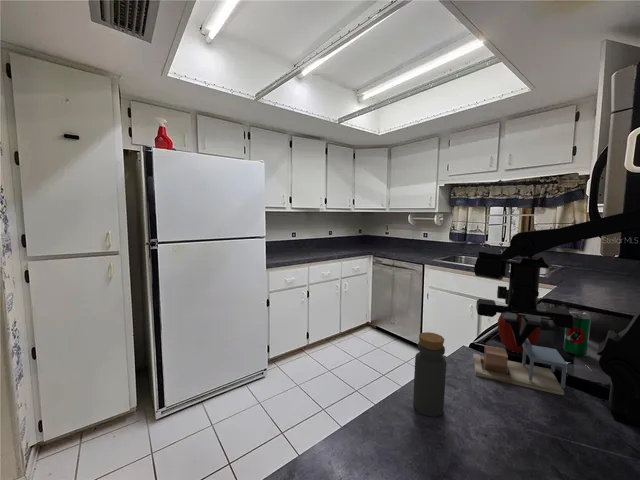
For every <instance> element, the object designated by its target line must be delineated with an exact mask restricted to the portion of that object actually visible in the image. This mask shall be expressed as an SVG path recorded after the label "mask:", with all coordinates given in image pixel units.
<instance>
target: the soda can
mask: <svg viewBox="0 0 640 480" xmlns="http://www.w3.org/2000/svg"><path fill="white" fill-rule="evenodd" d="M568 312H569V313H570V314H571V315H572V316H573V317H574V318H575V328H573V329H571V328H565V329H564V339H563V350H564V351H565V353H567V352H568V353H567V354H569V353H570V354H569V355H572V354H573V355H572V356H575V355H577V356H576V357H585V356H587V355H588V350H589V349H588V348H589V339H590V333H591V332H590V331H591V323H592V318H591V316H590V313H588V312H586V311H582V310H577V309H569V310H568Z"/></svg>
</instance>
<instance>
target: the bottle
mask: <svg viewBox="0 0 640 480" xmlns="http://www.w3.org/2000/svg"><path fill="white" fill-rule="evenodd" d="M418 337H419V341H418V343H417V350H418V352H417V353H416V354H415V357H414V358H415V359H414V376H413V377H414V378H413V400H412V403H413V407H414V409H415V410H416V411H417V412H418V413H420V414H422V415H424V416H427V417H430V418H432V417H433V418H434V417H435V418H437V417H440V416H441V415H442V414H443V413H444V410H445V409H444V408H445V393H446V378H447V377H446V375H447V373H446V372H447V359H446V358H445V357H444V356H443V355H445V354H446V347H445V346H444V343H445V338H444V337H443V336H442V335H441V334H438V333H435V332H429V331H425V332H421V333H420V334H419V335H418Z"/></svg>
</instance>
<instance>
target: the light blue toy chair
mask: <svg viewBox="0 0 640 480" xmlns="http://www.w3.org/2000/svg"><path fill="white" fill-rule="evenodd" d="M522 346H523V353H522V361H521V363H522V365H524V366H525V365H526V364H527V356H528V358H529V365H530V368H529V380H530V381H532V378H533V368H534V366H535V365H534V364H535V363H540V364H545V365H550V367H551V368H550V369H551V371H552V372H553V373H554V372H556V367H560V368H561V378H560V386H561V387H562V389H565V388H566V380H567V374H566V373H567V363H566V362H567V361H565V359H564V358H563V357H562V355H561V354H560V353H559V351H558V350H557V349H556V348H551V347H545V346H539V345H531V343H530V342H529V340H528V338H527V339H526V340H525V342H524V343H523V345H522Z"/></svg>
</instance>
